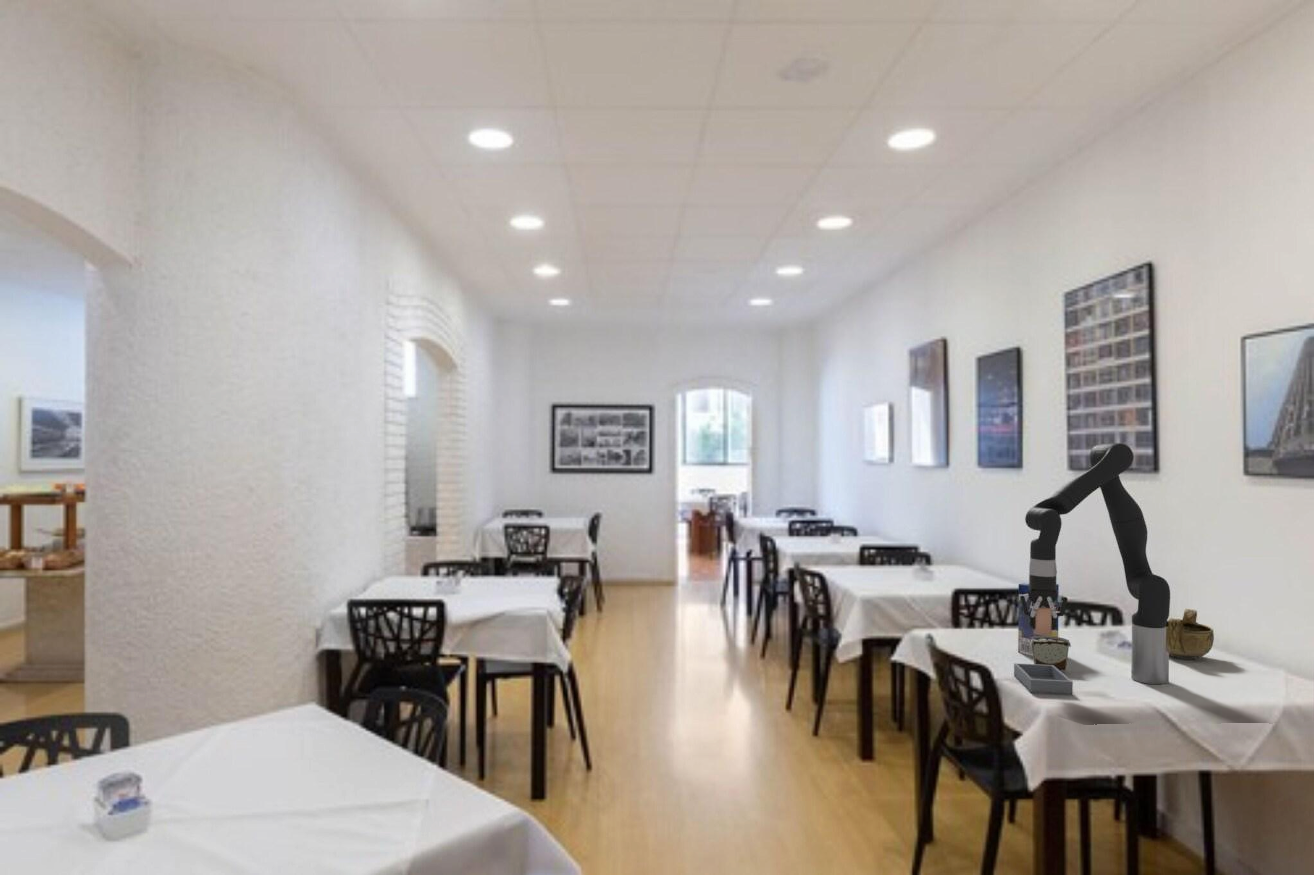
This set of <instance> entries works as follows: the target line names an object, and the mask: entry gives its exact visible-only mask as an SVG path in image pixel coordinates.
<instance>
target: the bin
mask: <svg viewBox="0 0 1314 875" xmlns="http://www.w3.org/2000/svg"><path fill="white" fill-rule="evenodd" d="M1013 677H1014V678H1016V680H1017V681H1018V682H1019V683H1020V684H1021V685H1022V686H1023V687H1024V689H1026V690H1027V691H1028V692H1029V693H1030V694H1036V695H1037V694H1039V695H1041V694H1042V695H1059V696H1073V692H1074V690H1073V684H1074V683H1073V681H1072V680H1071V679H1070V678H1069V677H1068V676H1066V675H1065V674H1064V673H1063V671H1059V670H1058V669H1057V668H1056V667H1055V666H1054V665H1041V664H1034V663H1017V662H1015V663H1013Z"/></svg>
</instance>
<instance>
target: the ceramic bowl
mask: <svg viewBox="0 0 1314 875" xmlns="http://www.w3.org/2000/svg"><path fill="white" fill-rule="evenodd" d="M1197 618H1198V611H1197V610H1196V609H1190V608H1185V609H1184V611H1183V616H1182V619H1180V618H1173V617H1172V618H1171V617H1169V618H1168V620H1167V622H1166V651H1167V652H1168V653H1169V656H1171V657H1174V658H1176V659H1177V658H1178V659H1182V660H1183V659H1184V660H1194V659H1198V658H1202V657H1204V656H1205V655H1207V654H1208V653H1209V652H1210V651H1211V650H1212V648H1213V645H1214V640H1215V636H1214V635H1215V634H1214V628H1212V627H1211V626H1209V625H1205V624H1200V623H1198V622H1197Z"/></svg>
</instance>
